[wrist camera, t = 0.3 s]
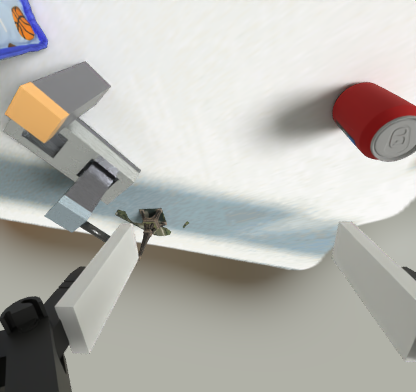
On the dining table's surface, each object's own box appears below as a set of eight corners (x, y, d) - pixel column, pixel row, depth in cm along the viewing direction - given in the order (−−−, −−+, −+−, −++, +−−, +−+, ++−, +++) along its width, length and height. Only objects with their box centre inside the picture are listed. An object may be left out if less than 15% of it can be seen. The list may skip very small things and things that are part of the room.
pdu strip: (41, 86, 37) (-42, 122, 25) (154, 181, 47) (130, 237, 36) (20, 121, 41) (-60, 166, 30) (128, 202, 51) (98, 257, 40)
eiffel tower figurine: (114, 212, 54) (87, 261, 44) (132, 186, 49) (107, 235, 39) (168, 240, 60) (155, 289, 49) (190, 220, 54) (181, 270, 44)
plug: (85, 60, 34) (19, 85, 23) (111, 86, 36) (61, 119, 25) (70, 82, 36) (4, 114, 25) (95, 105, 38) (44, 143, 27)
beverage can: (328, 130, 37) (360, 171, 28) (332, 86, 33) (371, 117, 24) (375, 121, 36) (424, 161, 27) (385, 75, 32) (447, 103, 23)
